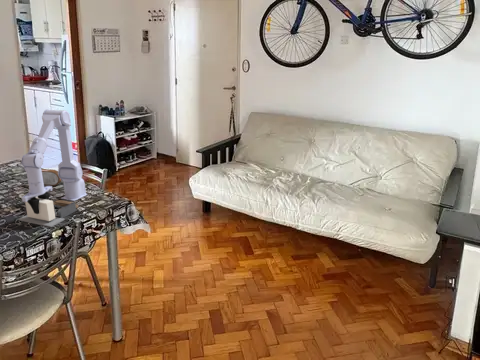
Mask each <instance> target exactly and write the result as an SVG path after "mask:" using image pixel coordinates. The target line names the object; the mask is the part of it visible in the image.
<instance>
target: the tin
mask: <svg viewBox="0 0 480 360" xmlns="http://www.w3.org/2000/svg"><path fill="white" fill-rule="evenodd" d="M41 170H42V177H43V183H44V186H52V187H55V186H58V185H59V184H60V183H62V179H60V178H59V176H58V170H56V169H49V168H48V169H47V168H41Z"/></svg>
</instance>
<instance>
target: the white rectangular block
mask: <svg viewBox="0 0 480 360" xmlns="http://www.w3.org/2000/svg"><path fill="white" fill-rule="evenodd" d="M36 199H39V214H35V213H34V211H33V209H32V207H31V206H30V204H29V203H28V202H24V203H25V209H26V215H27V216H28V217H31V218H36V219H41V220H46V221H51V220H53V219H55V214H56V213H55V208H54V205H53V202H54V200H52V199H51V200H50V199H49V200H47V199H41V198H36Z"/></svg>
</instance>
